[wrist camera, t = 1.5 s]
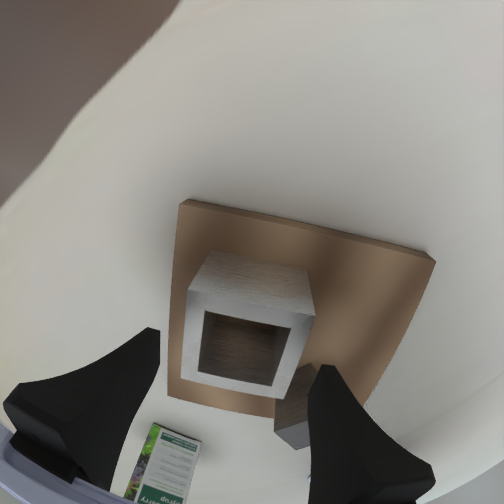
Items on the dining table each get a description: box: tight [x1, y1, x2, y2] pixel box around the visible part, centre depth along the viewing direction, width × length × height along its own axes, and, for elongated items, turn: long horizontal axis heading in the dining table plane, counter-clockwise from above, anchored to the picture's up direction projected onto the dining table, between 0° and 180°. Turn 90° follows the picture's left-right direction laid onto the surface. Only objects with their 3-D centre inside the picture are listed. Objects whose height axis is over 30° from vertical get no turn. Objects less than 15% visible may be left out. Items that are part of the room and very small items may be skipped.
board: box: [168, 199, 436, 418], centre depth 19 cm, size 16×16×2 cm
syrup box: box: [123, 424, 201, 504], centre depth 20 cm, size 6×6×14 cm
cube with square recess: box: [181, 249, 316, 399], centre depth 15 cm, size 6×6×5 cm
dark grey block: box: [274, 363, 318, 450], centre depth 17 cm, size 3×3×5 cm
